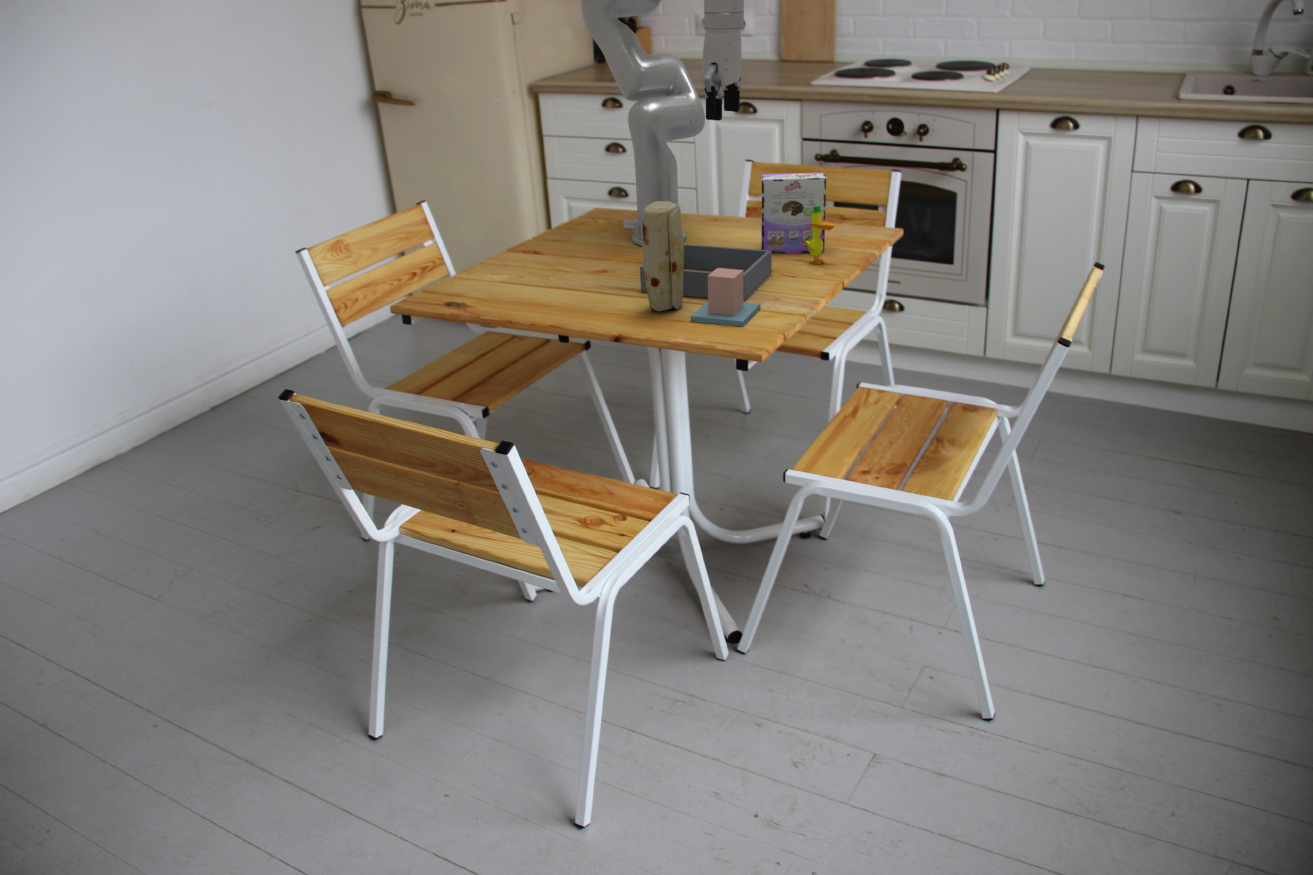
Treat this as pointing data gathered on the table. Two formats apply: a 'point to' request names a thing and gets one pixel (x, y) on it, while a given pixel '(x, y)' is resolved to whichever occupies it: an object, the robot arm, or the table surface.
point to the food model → (663, 255)
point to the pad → (735, 320)
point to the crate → (713, 257)
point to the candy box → (790, 210)
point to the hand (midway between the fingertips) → (722, 115)
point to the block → (725, 291)
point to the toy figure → (817, 234)
